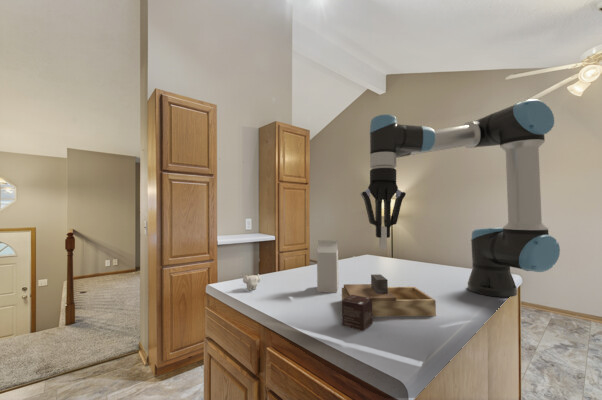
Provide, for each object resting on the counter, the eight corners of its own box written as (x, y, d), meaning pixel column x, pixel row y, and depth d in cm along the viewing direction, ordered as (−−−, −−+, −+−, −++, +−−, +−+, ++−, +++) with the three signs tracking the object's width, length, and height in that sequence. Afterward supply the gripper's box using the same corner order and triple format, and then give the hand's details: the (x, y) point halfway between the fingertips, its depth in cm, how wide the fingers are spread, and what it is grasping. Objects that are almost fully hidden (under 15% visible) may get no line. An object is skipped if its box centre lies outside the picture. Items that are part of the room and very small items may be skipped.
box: (352, 321, 78) (351, 294, 78) (373, 326, 75) (372, 298, 75) (341, 329, 73) (341, 300, 74) (363, 334, 70) (363, 304, 70)
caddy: (415, 302, 94) (414, 286, 94) (435, 318, 80) (435, 300, 80) (341, 303, 93) (341, 287, 94) (349, 319, 79) (349, 301, 80)
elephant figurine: (245, 293, 105) (245, 277, 106) (240, 288, 113) (240, 272, 113) (263, 291, 108) (263, 275, 109) (257, 286, 116) (257, 271, 116)
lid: (380, 286, 94) (380, 271, 94) (396, 300, 79) (395, 283, 80) (343, 286, 94) (343, 272, 94) (352, 301, 79) (352, 283, 79)
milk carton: (337, 294, 103) (336, 241, 103) (317, 293, 104) (316, 241, 105) (338, 289, 110) (337, 239, 110) (320, 288, 111) (319, 239, 112)
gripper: (400, 170, 89) (400, 247, 88) (358, 170, 89) (358, 247, 88) (409, 167, 81) (409, 251, 80) (363, 166, 81) (363, 250, 80)
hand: (382, 248), depth 84 cm, fingers closed
